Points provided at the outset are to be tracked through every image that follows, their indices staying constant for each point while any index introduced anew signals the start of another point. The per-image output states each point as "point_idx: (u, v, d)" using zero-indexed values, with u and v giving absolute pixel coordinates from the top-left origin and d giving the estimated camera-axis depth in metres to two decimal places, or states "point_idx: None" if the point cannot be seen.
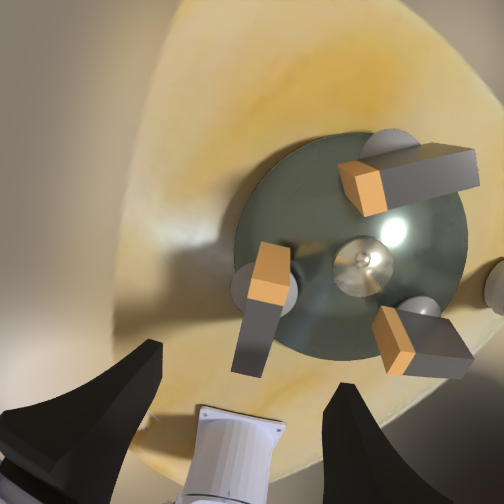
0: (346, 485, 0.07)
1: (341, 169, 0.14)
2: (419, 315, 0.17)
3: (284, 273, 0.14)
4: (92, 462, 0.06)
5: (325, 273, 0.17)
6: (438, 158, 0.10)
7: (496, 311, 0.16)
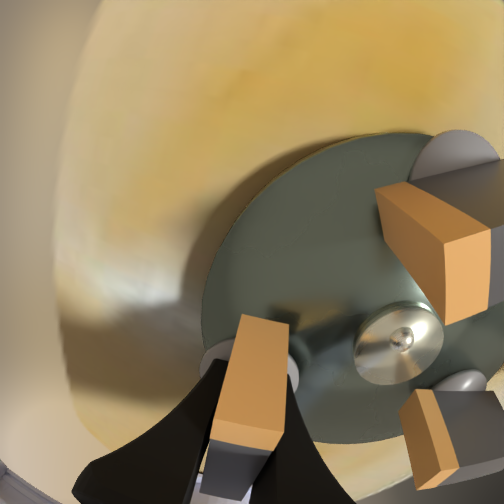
0: (262, 479, 0.07)
1: (387, 203, 0.07)
2: (461, 395, 0.10)
3: (276, 395, 0.07)
4: (188, 497, 0.06)
5: (341, 354, 0.11)
6: None
7: None
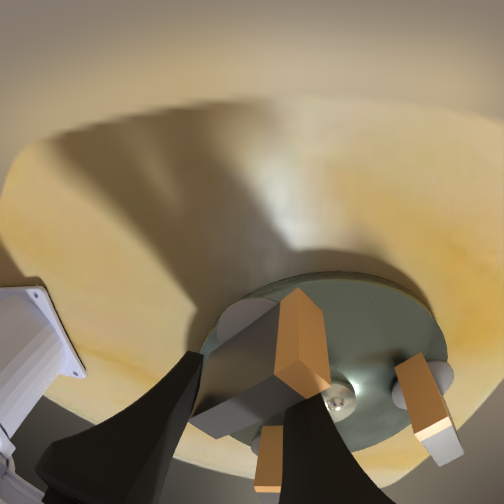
0: (296, 483, 0.07)
1: (426, 369, 0.12)
2: None
3: (324, 359, 0.10)
4: (148, 485, 0.06)
5: None
6: (458, 443, 0.10)
7: None
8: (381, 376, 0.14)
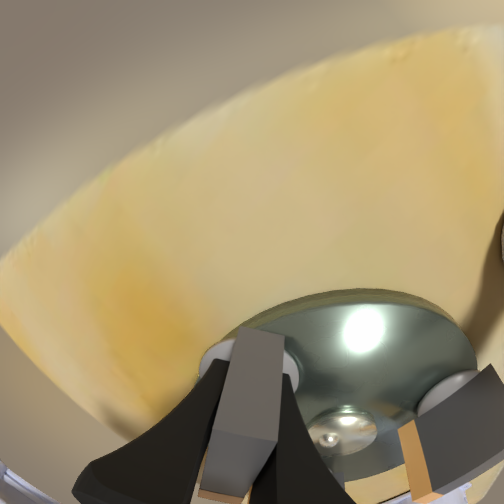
0: (262, 479, 0.07)
1: None
2: (447, 403, 0.11)
3: None
4: (188, 497, 0.06)
5: None
6: (207, 461, 0.07)
7: None
8: None
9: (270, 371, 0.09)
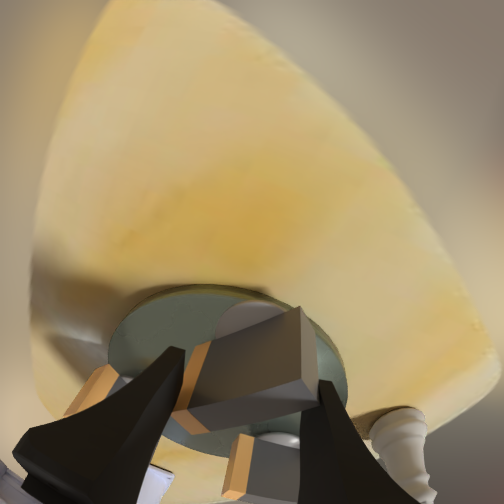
0: (318, 484, 0.07)
1: None
2: (280, 448, 0.17)
3: (81, 400, 0.13)
4: (123, 475, 0.06)
5: None
6: (249, 396, 0.09)
7: (376, 452, 0.17)
8: None
9: (313, 353, 0.12)
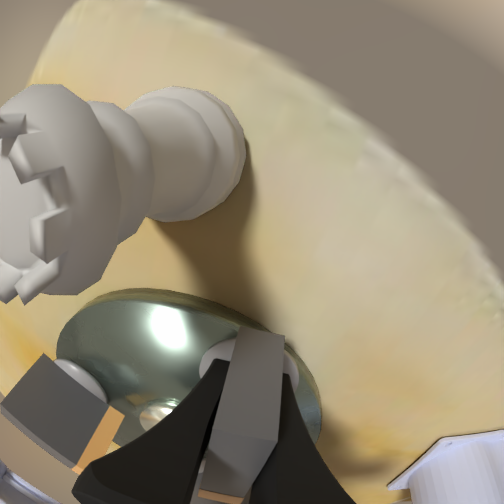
0: (262, 479, 0.07)
1: None
2: None
3: None
4: (188, 497, 0.06)
5: None
6: (29, 437, 0.10)
7: (218, 195, 0.09)
8: (123, 414, 0.14)
9: (25, 376, 0.11)
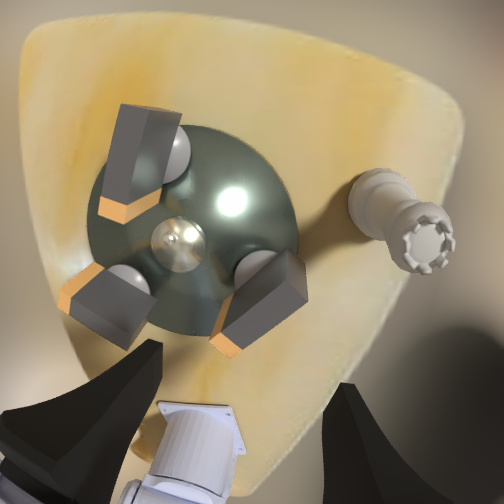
0: (346, 485, 0.07)
1: None
2: (253, 276, 0.19)
3: None
4: (92, 462, 0.06)
5: (158, 260, 0.20)
6: (112, 143, 0.13)
7: (374, 238, 0.17)
8: None
9: (163, 110, 0.14)
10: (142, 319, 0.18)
